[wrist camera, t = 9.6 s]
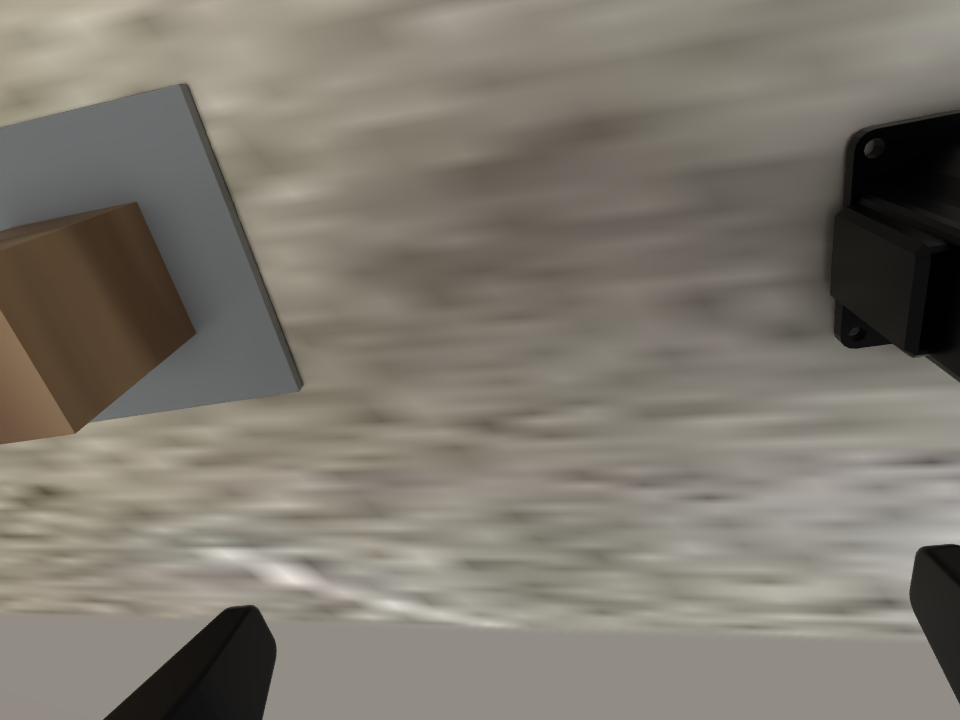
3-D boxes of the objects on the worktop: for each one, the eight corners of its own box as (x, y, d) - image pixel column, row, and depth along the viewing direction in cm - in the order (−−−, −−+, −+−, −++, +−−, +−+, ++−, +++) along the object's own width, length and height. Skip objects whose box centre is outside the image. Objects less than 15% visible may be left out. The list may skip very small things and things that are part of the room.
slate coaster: (186, 83, 17) (178, 84, 16) (302, 385, 21) (298, 391, 21) (-103, 154, 18) (-116, 155, 18) (61, 422, 23) (53, 427, 22)
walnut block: (136, 201, 18) (-29, 261, 13) (196, 333, 20) (75, 433, 15) (10, 227, 19) (-197, 294, 13) (80, 352, 21) (-76, 454, 15)
